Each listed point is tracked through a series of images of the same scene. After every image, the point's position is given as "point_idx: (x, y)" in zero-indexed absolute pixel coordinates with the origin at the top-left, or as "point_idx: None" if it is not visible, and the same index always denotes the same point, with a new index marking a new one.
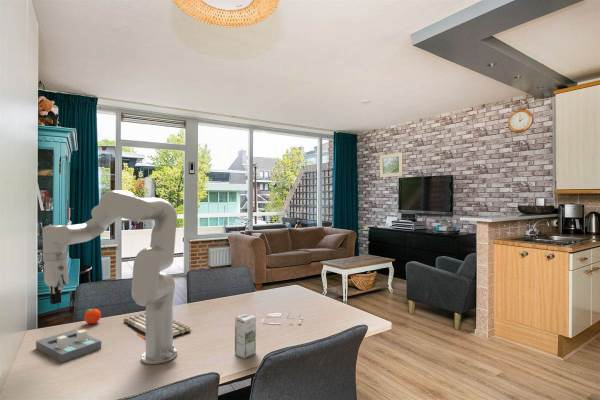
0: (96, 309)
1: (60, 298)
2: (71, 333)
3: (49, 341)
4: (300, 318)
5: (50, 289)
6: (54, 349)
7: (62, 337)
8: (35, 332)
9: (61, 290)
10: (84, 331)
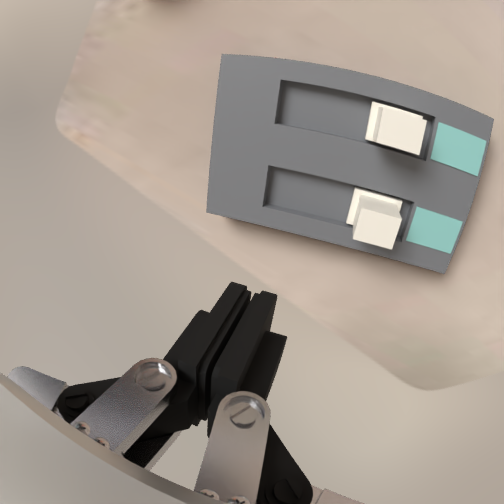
0: None
1: (265, 328)
2: (261, 89)
3: (264, 195)
4: None
5: (153, 452)
6: (375, 249)
7: (383, 232)
8: (77, 121)
9: (267, 434)
10: (422, 131)
